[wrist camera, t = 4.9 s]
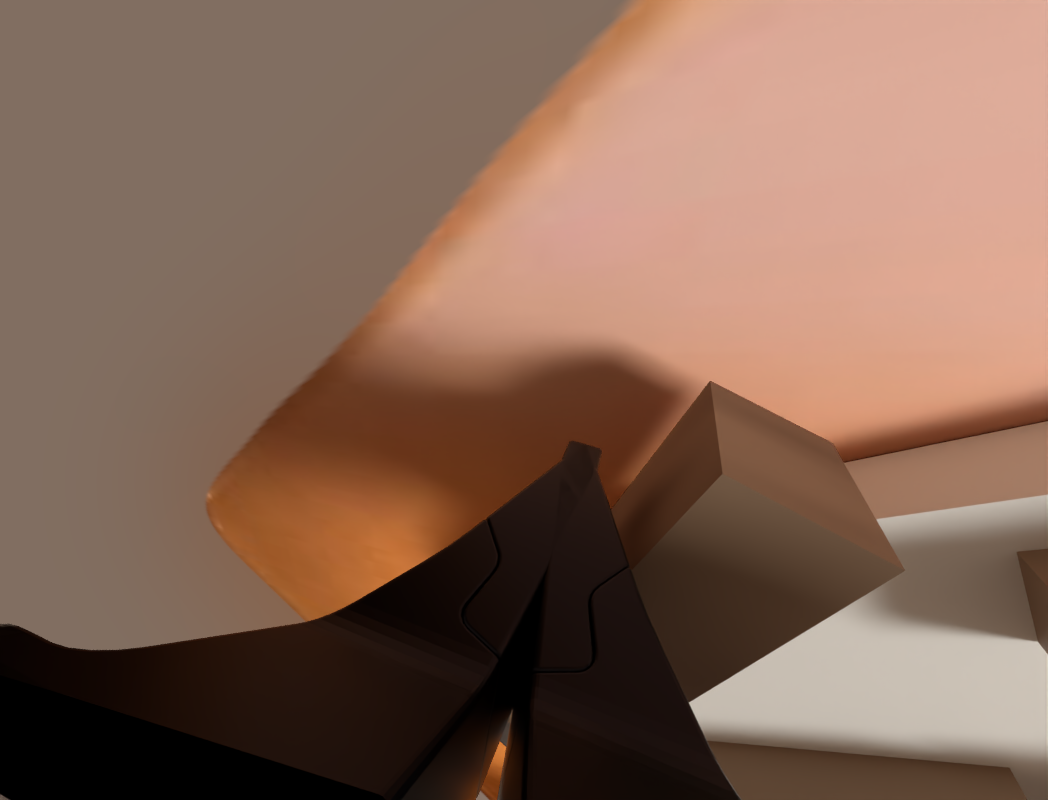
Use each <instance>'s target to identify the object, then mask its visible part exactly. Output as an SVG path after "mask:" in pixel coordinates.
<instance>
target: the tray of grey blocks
mask: <svg viewBox="0 0 1048 800" xmlns="http://www.w3.org/2000/svg"><path fill="white" fill-rule="evenodd" d="M844 464H845V466H846V468H847V469H848V471H849V473H850V475H851V476H852V478H853V480H854V482H855V483H856V485H857V487H858V489H859V490H860V492H861V494H862V496H863V497H864V499H865V501H866V503H867V504H868V506H869V508H870V510H871V511H872V513H873V515H874V517H875V518H876V520H877V522H878V524H879V525H880V527H881V529H882V531H883V532H884V534H885V536H886V538H887V539H888V541H889V543H890V545H891V546H892V548H893V550H894V552H895V553H896V555H897V557H898V559H899V560H900V562H901V564H902V566H903V567H904V569H905V571H904V572H902V573H901V574H899V575H897V576H896V577H894V578H893V579H891V580H889V581H888V582H886V583H884V584H883V585H881V586H879V587H878V588H876V589H875V590H873V591H871V592H870V593H868V594H866V595H865V596H863V597H861V598H860V599H858V600H856V601H855V602H853V603H852V604H850V605H848V606H847V607H845V608H843V609H842V610H840V611H838V612H837V613H835V614H834V615H832V616H830V617H829V618H827V619H825V620H824V621H822V622H820V623H819V624H817V625H815V626H814V627H812V628H811V629H809V630H807V631H806V632H804V633H802V634H801V635H799V636H797V637H796V638H794V639H793V640H791V641H789V642H788V643H786V644H784V645H783V646H781V647H779V648H778V649H776V650H774V651H773V652H771V653H770V654H768V655H766V656H765V657H763V658H761V659H760V660H758V661H756V662H755V663H753V664H752V665H750V666H748V667H747V668H745V669H743V670H742V671H740V672H738V673H737V674H735V675H733V676H732V677H730V678H729V679H727V680H725V681H724V682H722V683H720V684H719V685H717V686H715V687H714V688H712V689H711V690H709V691H707V692H706V693H704V694H702V695H701V696H699V697H697V698H696V699H694V700H692V701H691V702H689V704H690V706H691V708H692V710H693V712H694V715H695V717H696V719H697V721H698V723H699V725H700V727H701V729H702V731H703V733H704V735H705V737H706V740H707V742H708V744H709V746H710V748H711V750H712V752H713V754H714V756H715V758H716V760H717V761H718V763H719V765H720V767H721V768H722V770H723V772H724V774H725V775H726V777H727V779H728V780H729V782H730V783H731V785H732V786H733V788H734V789H735V791H736V792H737V794H738V795H739V797H740V798H741V800H1048V421H1046V422H1041V423H1036V424H1031V425H1026V426H1021V427H1017V428H1012V429H1007V430H1002V431H997V432H992V433H987V434H982V435H978V436H973V437H968V438H963V439H958V440H953V441H948V442H943V443H939V444H934V445H929V446H924V447H919V448H914V449H909V450H904V451H900V452H895V453H890V454H885V455H880V456H875V457H870V458H865V459H860V460H856V461H851V462H846V463H844Z"/></svg>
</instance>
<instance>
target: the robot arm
mask: <svg viewBox="0 0 1048 800" xmlns="http://www.w3.org/2000/svg"><path fill="white" fill-rule="evenodd" d="M601 454H602V451H601V449H600V448H597V447H593V446H590V445H586V444H583V443H579V442H575V441H570V442H569V444H568V446H567V449H566V451H565V453H564V456H563V458H562V461H560V462H559V463H558V464H556V465H555V466H554V467H552V468H551V469H550V470H549V471H547V472H546V473H545V474H543V475H542V476H541V477H539V478H538V479H537V480H536V481H534V482H533V483H532V484H530V485H529V486H528V487H526V488H525V489H524V490H523V491H521V492H520V493H519V494H517V495H516V496H515V497H513V498H512V499H511V500H509V501H508V502H507V503H506V504H504V505H503V506H502V507H500V508H499V509H498V510H496V511H495V512H494V513H493V514H491V515H490V516H489V517H487V519H486V520H483V521H482V522H480V523H479V524H478V525H477V526H475V527H474V528H473V529H471V530H470V531H469V532H467V533H466V534H465V535H463V536H462V537H460V538H459V539H458V540H456V541H455V542H453V543H452V544H451V545H449V546H448V547H446V548H444V549H443V550H441V551H440V552H438V553H436V554H435V555H433V556H431V557H430V558H428V559H427V560H425V561H423V562H422V563H420V564H418V565H417V566H415V567H413V568H412V569H410V570H408V571H406V572H405V573H403V574H401V575H400V576H398V577H396V578H395V579H393V580H391V581H389V582H388V583H386V584H384V585H383V586H381V587H379V588H378V589H376V590H374V591H372V592H371V593H369V594H367V595H366V596H364V597H362V598H361V599H359V600H357V601H355V602H354V603H352V604H350V605H348V606H346V607H344V608H342V609H340V610H338V611H336V612H334V613H331V614H329V615H326V616H323V617H321V618H318V619H315V620H311V621H308V622H303V623H298V624H292V625H285V626H279V627H272V628H266V629H259V630H254V631H246V632H240V633H233V634H227V635H220V636H213V637H207V638H201V639H194V640H188V641H181V642H175V643H168V644H161V645H156V646H148V647H142V648H131V649H122V650H85V649H76V648H68V647H64V646H61V645H58V644H55V643H52V642H50V641H48V640H46V639H44V638H42V637H40V636H38V635H36V634H34V633H32V632H30V631H28V630H26V629H23V628H21V627H19V626H15V625H12V624H0V800H476V798H477V796H478V794H479V792H480V789H481V787H482V784H483V782H484V779H485V777H486V774H487V772H488V769H489V767H490V764H491V762H492V759H493V757H494V754H495V752H496V749H497V747H498V744H499V742H500V739H501V737H502V734H503V732H504V729H505V727H506V724H507V722H508V719H509V717H510V714H511V712H512V717H511V723H510V729H509V735H508V740H507V746H506V752H505V758H504V764H503V770H502V775H501V781H500V787H499V793H498V799H497V800H741V798H740V797H739V795H738V794H737V792H736V791H735V789H734V788H733V786H732V785H731V783H730V782H729V780H728V779H727V777H726V775H725V774H724V772H723V770H722V768H721V767H720V765H719V763H718V761H717V760H716V758H715V756H714V754H713V752H712V750H711V748H710V746H709V744H708V742H707V740H706V737H705V735H704V733H703V731H702V729H701V727H700V725H699V723H698V721H697V719H696V717H695V715H694V712H693V710H692V708H691V706H690V704H689V702H688V700H687V698H686V696H685V694H684V692H683V689H682V687H681V685H680V683H679V681H678V679H677V677H676V675H675V673H674V671H673V669H672V667H671V664H670V662H669V660H668V658H667V656H666V654H665V652H664V650H663V648H662V645H661V643H660V641H659V639H658V637H657V634H656V632H655V630H654V628H653V625H652V623H651V621H650V619H649V617H648V614H647V611H646V609H645V606H644V603H643V601H642V598H641V595H640V593H639V590H638V588H637V585H636V582H635V579H634V576H633V573H632V570H631V569H630V568H629V567H630V565H629V562H628V559H627V556H626V553H625V550H624V547H623V544H622V541H621V538H620V535H619V532H618V529H617V527H616V524H615V521H614V518H613V515H612V512H611V509H610V506H609V503H608V500H607V497H606V494H605V491H604V488H603V486H602V483H601V480H600V477H599V474H598V468H599V463H600V458H601ZM512 709H513V711H512Z"/></svg>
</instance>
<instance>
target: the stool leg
mask: <svg viewBox="0 0 1048 800" xmlns="http://www.w3.org/2000/svg"><path fill="white" fill-rule="evenodd" d="M611 512H612V515H613V518H614V521H615V524H616V527H617V529H618V532H619V535H620V538H621V541H622V544H623V547H624V550H625V553H626V556H627V559H628V562H629V565H630V567H629V568H630V569H631V570H632V573H633V576H634V579H635V582H636V585H637V588H638V590H639V593H640V595H641V598H642V601H643V603H644V606H645V609H646V611H647V614H648V617H649V619H650V621H651V623H652V625H653V628H654V630H655V632H656V634H657V637H658V639H659V641H660V643H661V645H662V648H663V650H664V652H665V654H666V656H667V658H668V660H669V662H670V664H671V667H672V669H673V671H674V673H675V675H676V677H677V679H678V681H679V683H680V685H681V687H682V689H683V692H684V694H685V696H686V698H687V700H688V702H691V701H692V700H694V699H696V698H697V697H699V696H701V695H702V694H704V693H706V692H707V691H709V690H711V689H712V688H714V687H715V686H717V685H719V684H720V683H722V682H724V681H725V680H727V679H729V678H730V677H732V676H733V675H735V674H737V673H738V672H740V671H742V670H743V669H745V668H747V667H748V666H750V665H752V664H753V663H755V662H756V661H758V660H760V659H761V658H763V657H765V656H766V655H768V654H770V653H771V652H773V651H774V650H776V649H778V648H779V647H781V646H783V645H784V644H786V643H788V642H789V641H791V640H793V639H794V638H796V637H797V636H799V635H801V634H802V633H804V632H806V631H807V630H809V629H811V628H812V627H814V626H815V625H817V624H819V623H820V622H822V621H824V620H825V619H827V618H829V617H830V616H832V615H834V614H835V613H837V612H838V611H840V610H842V609H843V608H845V607H847V606H848V605H850V604H852V603H853V602H855V601H856V600H858V599H860V598H861V597H863V596H865V595H866V594H868V593H870V592H871V591H873V590H875V589H876V588H878V587H879V586H881V585H883V584H884V583H886V582H888V581H889V580H891V579H893V578H894V577H896V576H897V575H899V574H901V573H902V572H904V571H905V569H904V567H903V566H902V564H901V562H900V560H899V559H898V557H897V555H896V553H895V552H894V550H893V548H892V546H891V545H890V543H889V541H888V539H887V538H886V536H885V534H884V532H883V531H882V529H881V527H880V525H879V524H878V522H877V520H876V518H875V517H874V515H873V513H872V511H871V510H870V508H869V506H868V504H867V503H866V501H865V499H864V497H863V496H862V494H861V492H860V490H859V489H858V487H857V485H856V483H855V482H854V480H853V478H852V476H851V475H850V473H849V471H848V469H847V468H846V466H845V464H844V462H843V461H842V459H841V457H840V455H839V454H838V452H837V450H836V448H835V447H834V445H833V443H831V442H829V441H827V440H825V439H823V438H822V437H820V436H818V435H816V434H814V433H812V432H810V431H808V430H806V429H804V428H802V427H800V426H798V425H796V424H794V423H792V422H790V421H788V420H786V419H784V418H782V417H780V416H778V415H776V414H774V413H772V412H770V411H769V410H767V409H765V408H763V407H761V406H759V405H757V404H755V403H753V402H751V401H749V400H747V399H745V398H743V397H741V396H739V395H737V394H735V393H733V392H731V391H729V390H727V389H725V388H723V387H721V386H719V385H718V384H716V383H714V382H712V381H710V382H709V383H708V384H707V386H706V387H705V388H704V389H703V391H702V392H701V393H700V395H699V396H698V397H697V399H696V400H695V401H694V403H693V404H692V405H691V406H690V408H689V409H688V410H687V412H686V413H685V414H684V416H683V417H682V418H681V419H680V421H679V422H678V423H677V425H676V426H675V427H674V429H673V430H672V431H671V432H670V434H669V435H668V436H667V438H666V439H665V440H664V442H663V443H662V444H661V445H660V447H659V448H658V449H657V451H656V452H655V453H654V455H653V456H652V457H651V458H650V460H649V461H648V462H647V464H646V465H645V466H644V468H643V469H642V470H641V471H640V473H639V474H638V475H637V477H636V478H635V479H634V481H633V482H632V483H631V484H630V486H629V487H628V488H627V490H626V491H625V492H624V494H623V495H622V496H621V497H620V499H619V500H618V501H617V503H616V504H615V505H614V507H613V508H612V509H611ZM512 711H513V709H512ZM511 717H512V712H511V714H510V717H509V719H508V722H507V724H506V727H505V729H504V732H503V734H502V737H501V739H500V741H501V742H502V743H503V744H504V745H505V746H507V740H508V735H509V729H510V723H511Z"/></svg>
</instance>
